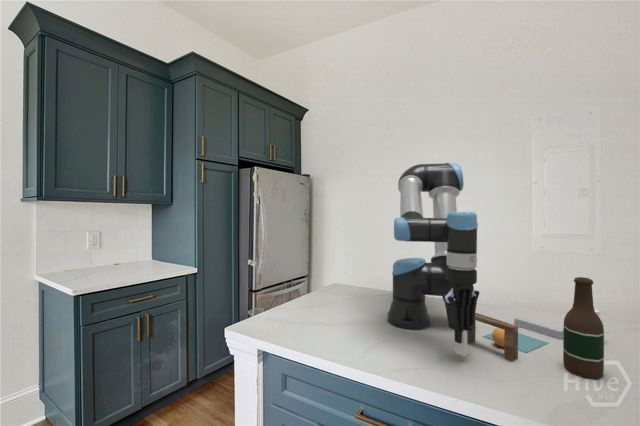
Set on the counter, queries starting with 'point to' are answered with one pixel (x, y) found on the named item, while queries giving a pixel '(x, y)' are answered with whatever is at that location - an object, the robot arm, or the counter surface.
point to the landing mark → (525, 342)
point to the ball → (498, 336)
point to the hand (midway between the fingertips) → (461, 353)
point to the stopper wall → (539, 328)
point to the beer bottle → (583, 334)
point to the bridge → (509, 335)
